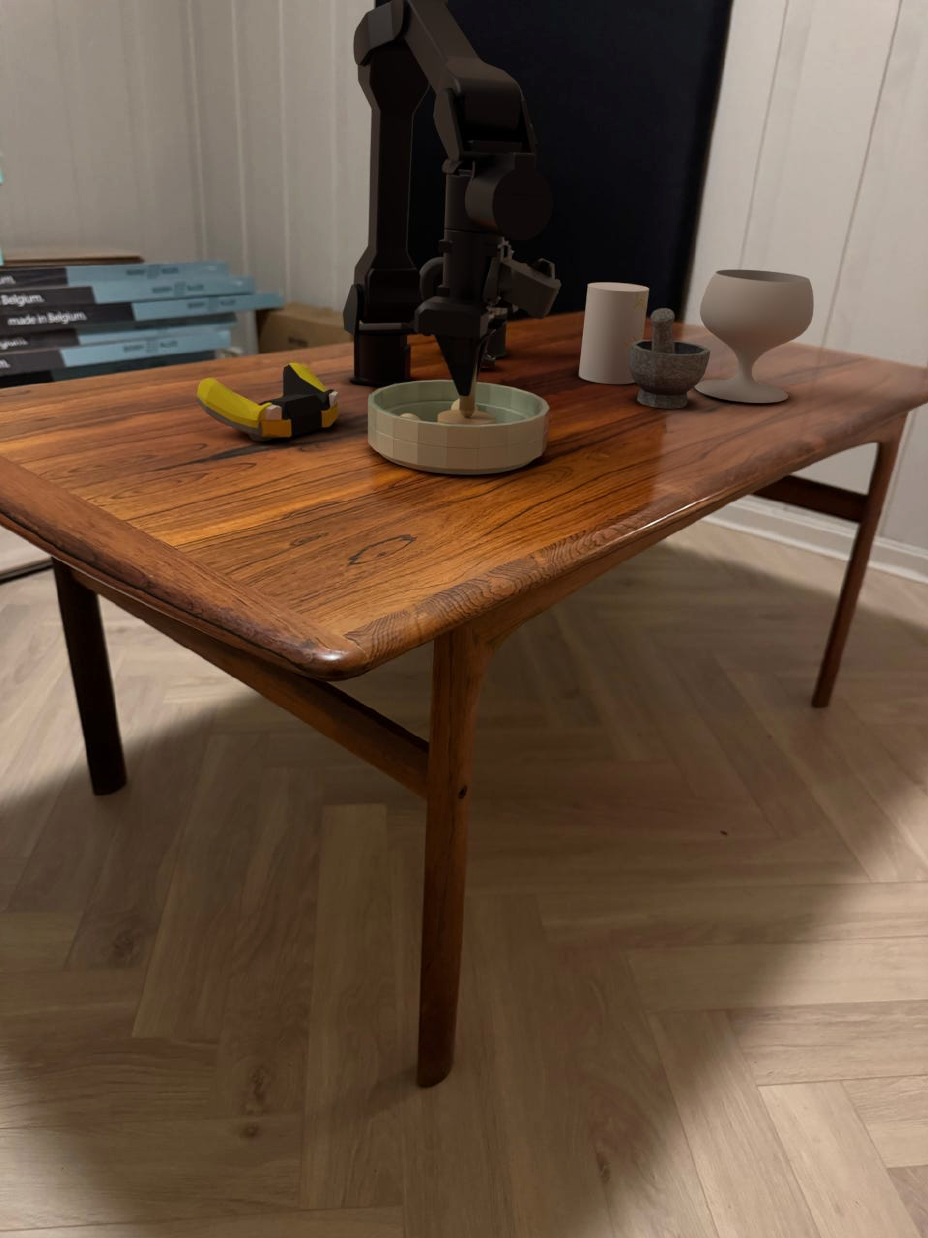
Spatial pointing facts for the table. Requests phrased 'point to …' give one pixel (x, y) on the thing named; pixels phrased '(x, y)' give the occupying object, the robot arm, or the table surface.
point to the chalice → (753, 325)
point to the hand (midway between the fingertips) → (466, 393)
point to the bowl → (457, 428)
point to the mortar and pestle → (666, 364)
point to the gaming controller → (273, 406)
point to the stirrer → (466, 411)
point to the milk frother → (499, 338)
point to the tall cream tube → (611, 331)
